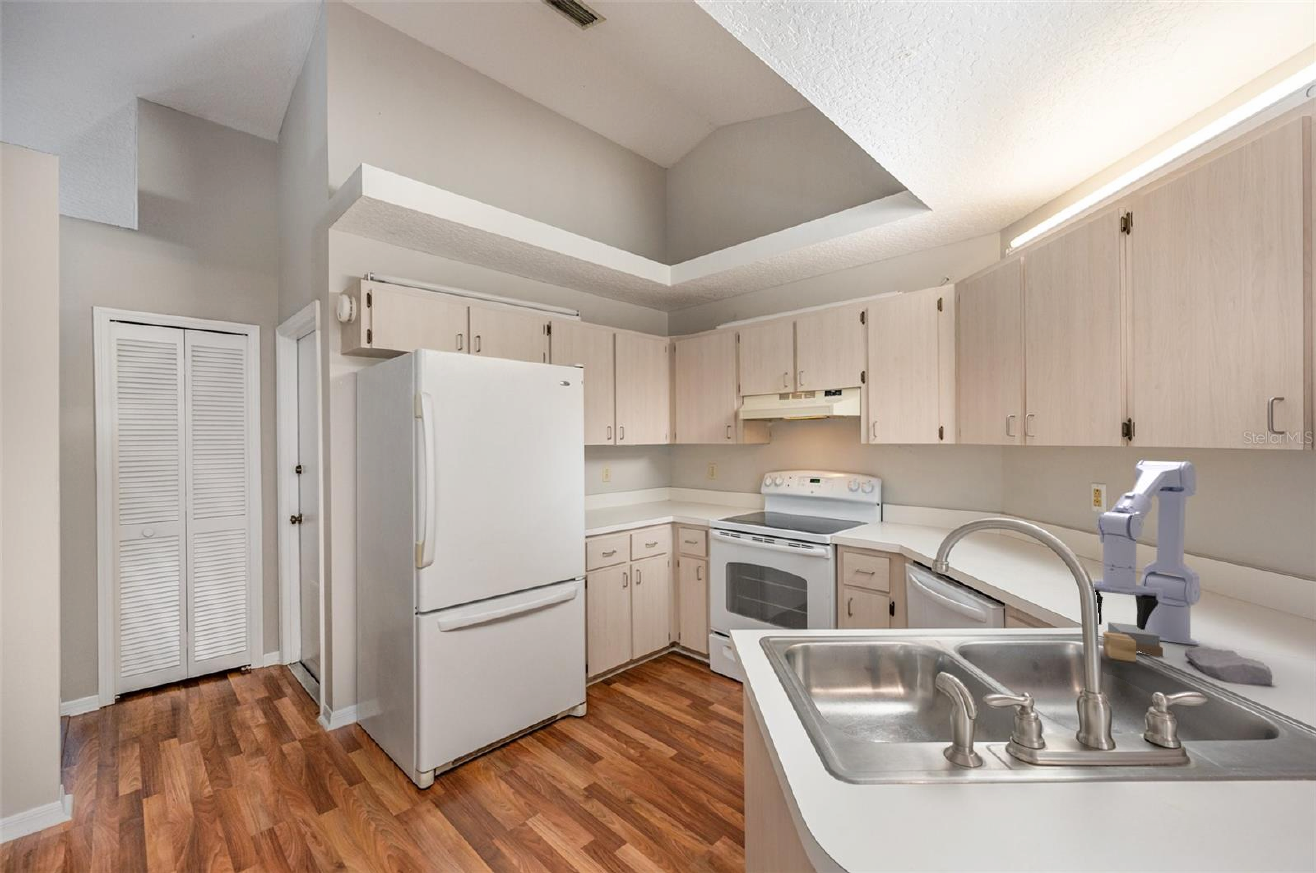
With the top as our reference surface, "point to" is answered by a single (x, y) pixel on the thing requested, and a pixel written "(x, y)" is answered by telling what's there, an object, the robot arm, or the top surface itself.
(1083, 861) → the top surface
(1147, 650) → the bottom slab
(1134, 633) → the top slab
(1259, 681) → the stone block
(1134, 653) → the oak cube
